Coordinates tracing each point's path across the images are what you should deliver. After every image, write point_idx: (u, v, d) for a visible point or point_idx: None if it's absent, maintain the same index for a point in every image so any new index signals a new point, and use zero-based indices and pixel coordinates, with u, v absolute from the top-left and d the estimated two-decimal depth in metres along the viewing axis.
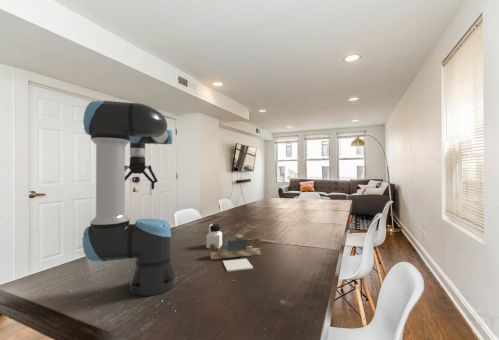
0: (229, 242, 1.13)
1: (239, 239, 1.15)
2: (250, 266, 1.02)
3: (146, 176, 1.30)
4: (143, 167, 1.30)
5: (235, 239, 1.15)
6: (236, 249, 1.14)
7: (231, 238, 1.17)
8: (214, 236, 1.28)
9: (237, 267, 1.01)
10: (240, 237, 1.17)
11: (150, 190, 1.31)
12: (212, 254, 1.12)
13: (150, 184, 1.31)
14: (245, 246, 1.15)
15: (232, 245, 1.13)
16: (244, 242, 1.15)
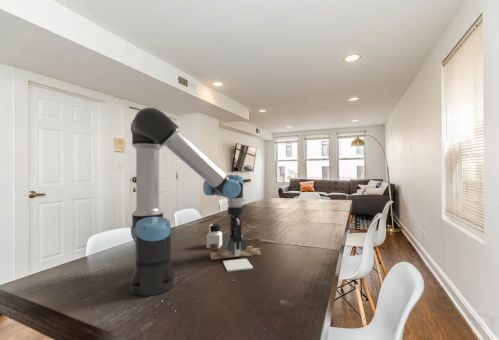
0: (229, 242, 1.13)
1: None
2: (250, 266, 1.02)
3: (234, 231, 1.14)
4: (234, 219, 1.15)
5: None
6: None
7: (231, 238, 1.17)
8: (214, 236, 1.28)
9: (237, 267, 1.01)
10: None
11: (234, 250, 1.13)
12: (212, 254, 1.12)
13: (234, 243, 1.13)
14: (245, 246, 1.15)
15: (232, 245, 1.13)
16: (244, 242, 1.15)
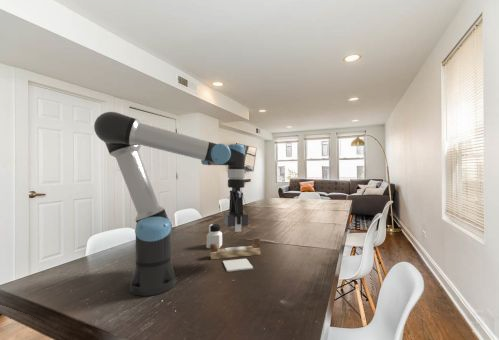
0: (229, 216, 1.04)
1: None
2: (250, 266, 1.02)
3: (234, 205, 1.05)
4: (235, 192, 1.06)
5: None
6: None
7: (231, 213, 1.08)
8: (214, 236, 1.28)
9: (237, 267, 1.01)
10: None
11: (235, 225, 1.04)
12: (212, 254, 1.12)
13: (235, 217, 1.04)
14: (246, 221, 1.06)
15: (232, 220, 1.04)
16: (245, 217, 1.06)
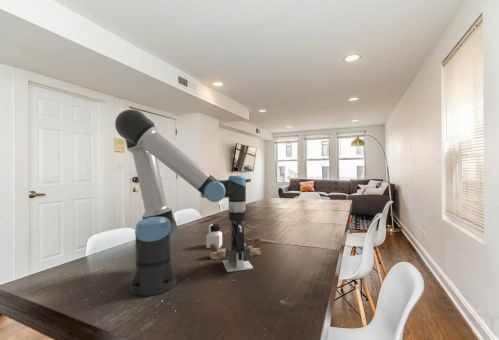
0: (230, 252, 1.00)
1: None
2: (250, 266, 1.02)
3: (236, 239, 1.01)
4: (236, 226, 1.02)
5: None
6: None
7: (233, 247, 1.04)
8: (214, 236, 1.28)
9: None
10: None
11: (236, 260, 1.00)
12: (212, 254, 1.12)
13: (236, 252, 1.00)
14: (248, 256, 1.02)
15: (234, 255, 1.00)
16: (247, 252, 1.02)
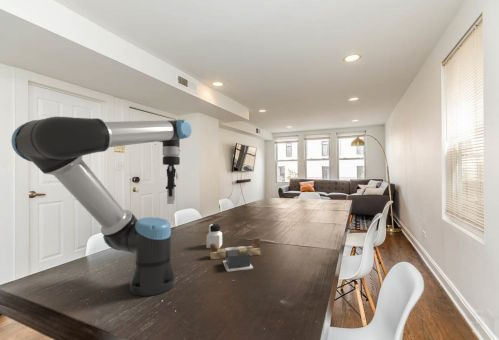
0: (230, 258, 1.00)
1: (242, 254, 1.02)
2: (250, 266, 1.02)
3: None
4: (168, 169, 1.09)
5: (237, 254, 1.02)
6: (238, 265, 1.01)
7: (233, 252, 1.04)
8: (214, 236, 1.28)
9: None
10: (243, 251, 1.04)
11: (167, 197, 1.05)
12: (212, 254, 1.12)
13: (167, 190, 1.05)
14: (248, 262, 1.02)
15: (234, 261, 1.00)
16: (247, 257, 1.02)
